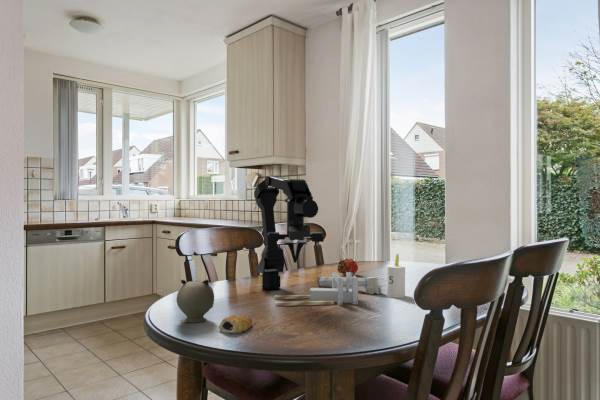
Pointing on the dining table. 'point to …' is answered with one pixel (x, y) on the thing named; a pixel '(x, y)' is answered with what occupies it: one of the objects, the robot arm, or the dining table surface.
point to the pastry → (235, 324)
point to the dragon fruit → (347, 266)
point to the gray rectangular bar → (329, 294)
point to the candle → (396, 280)
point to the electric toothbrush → (369, 283)
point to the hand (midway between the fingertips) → (295, 262)
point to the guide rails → (299, 301)
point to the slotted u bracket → (350, 284)
